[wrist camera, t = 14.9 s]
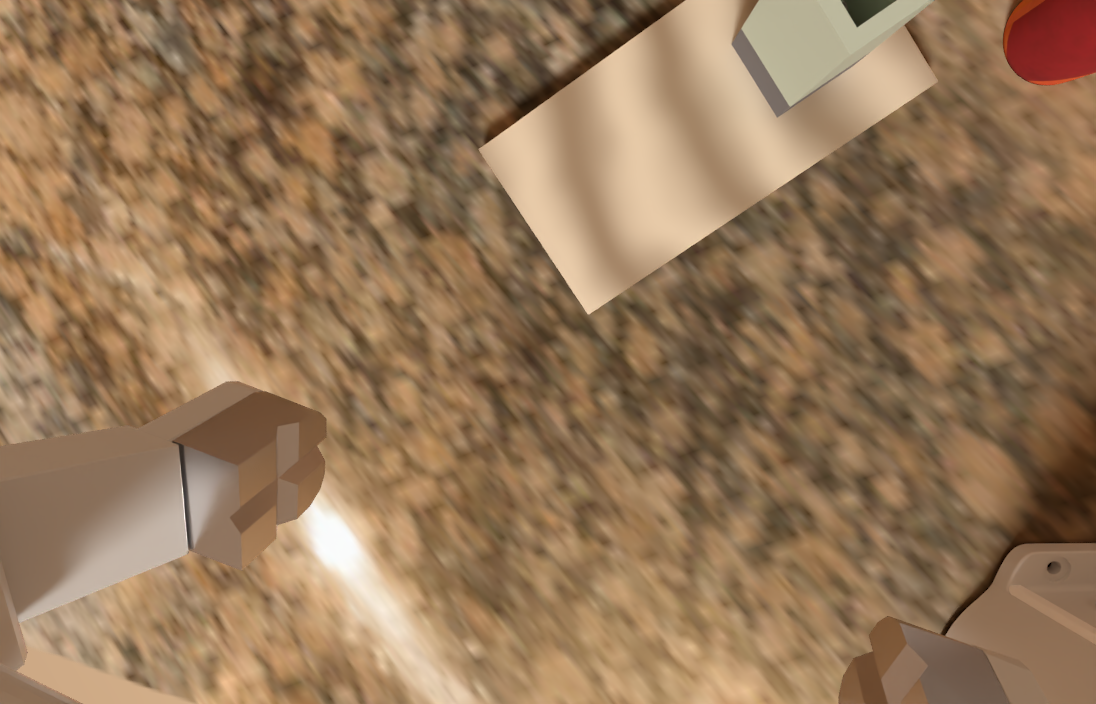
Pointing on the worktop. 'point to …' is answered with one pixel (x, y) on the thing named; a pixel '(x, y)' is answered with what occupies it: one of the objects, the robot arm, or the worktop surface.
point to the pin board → (677, 144)
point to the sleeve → (813, 42)
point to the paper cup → (1051, 40)
